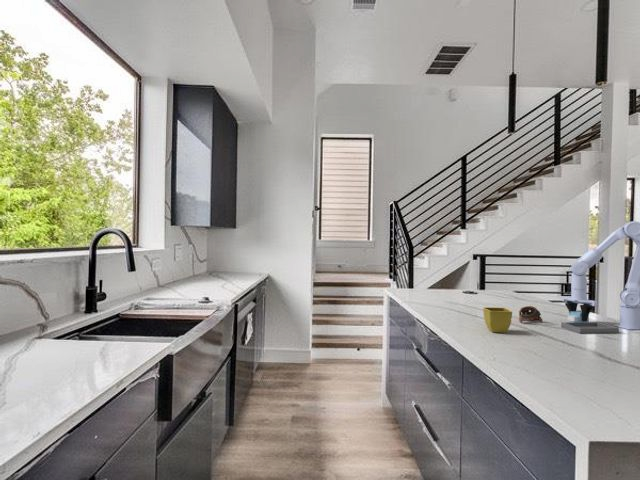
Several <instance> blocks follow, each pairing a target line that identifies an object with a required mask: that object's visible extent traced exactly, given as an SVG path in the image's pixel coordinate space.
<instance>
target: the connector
mask: <svg viewBox="0 0 640 480" xmlns="http://www.w3.org/2000/svg"><path fill="white" fill-rule="evenodd" d="M567 321H570V322H590V314H589V315H588V319H587V321H582V311H581V310H576V311H570V313H569V315H567Z"/></svg>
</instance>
